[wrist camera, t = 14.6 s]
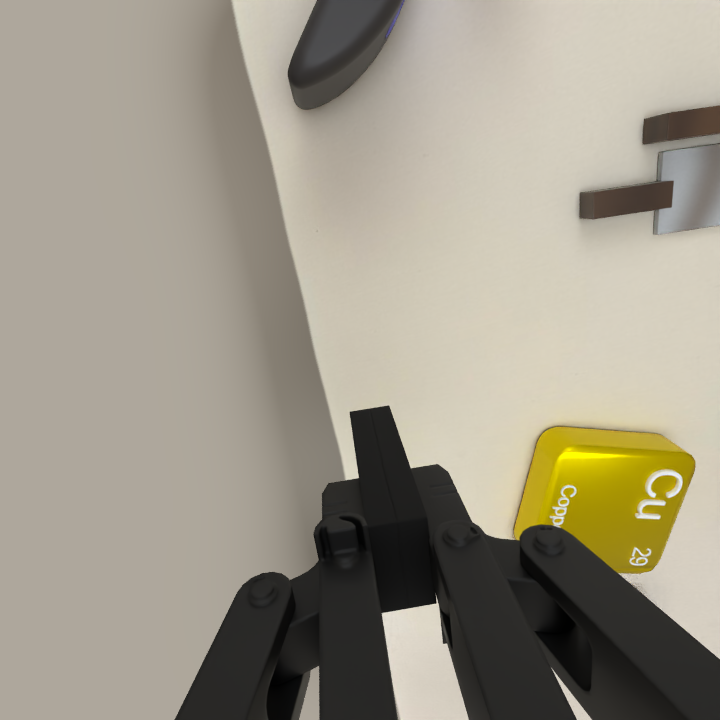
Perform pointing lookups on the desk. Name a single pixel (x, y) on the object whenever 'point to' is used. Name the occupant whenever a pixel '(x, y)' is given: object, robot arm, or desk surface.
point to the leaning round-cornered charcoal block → (338, 47)
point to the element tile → (608, 492)
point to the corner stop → (682, 125)
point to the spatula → (667, 193)
